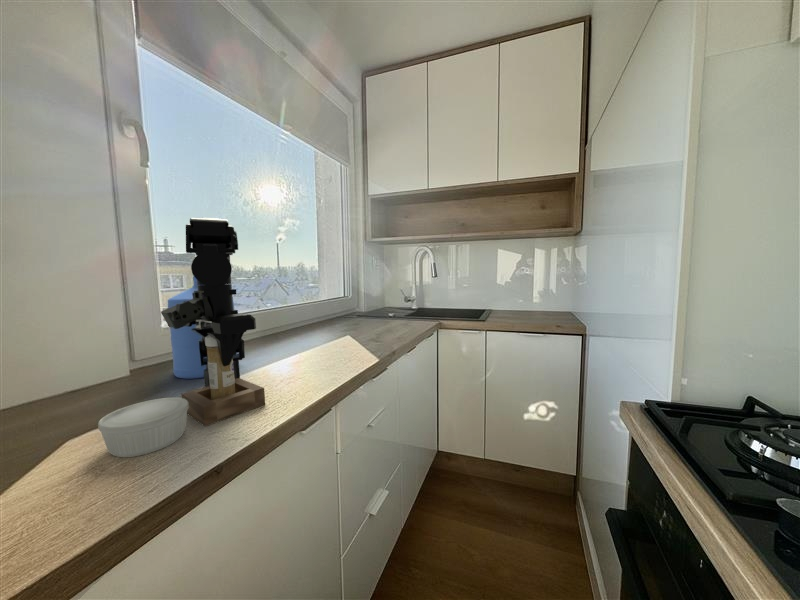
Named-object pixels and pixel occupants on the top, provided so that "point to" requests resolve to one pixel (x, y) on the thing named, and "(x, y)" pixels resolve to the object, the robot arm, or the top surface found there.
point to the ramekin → (144, 426)
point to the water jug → (186, 343)
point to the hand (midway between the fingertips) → (221, 363)
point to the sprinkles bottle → (219, 371)
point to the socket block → (223, 402)
